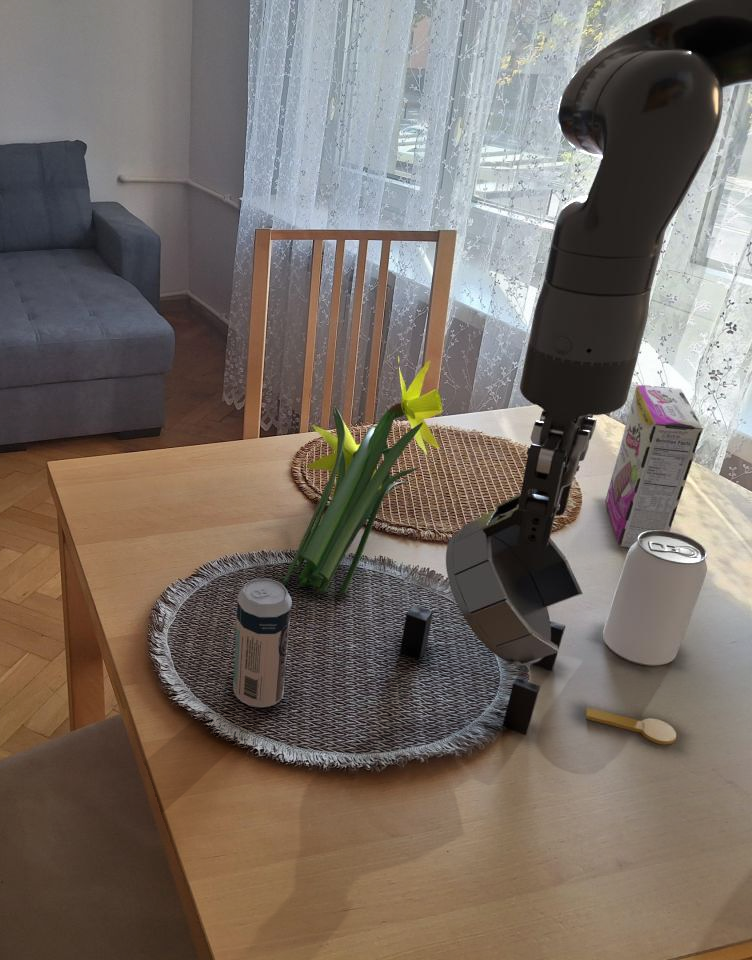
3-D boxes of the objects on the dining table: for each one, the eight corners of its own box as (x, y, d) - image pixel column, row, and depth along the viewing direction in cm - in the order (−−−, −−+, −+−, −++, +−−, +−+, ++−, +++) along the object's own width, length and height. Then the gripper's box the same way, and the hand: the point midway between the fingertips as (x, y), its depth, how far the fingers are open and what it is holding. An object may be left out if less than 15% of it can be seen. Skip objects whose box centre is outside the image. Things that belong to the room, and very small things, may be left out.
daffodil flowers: (218, 572, 101) (323, 396, 121) (322, 646, 100) (409, 456, 120) (287, 504, 87) (391, 319, 107) (407, 589, 86) (489, 386, 107)
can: (681, 674, 82) (720, 571, 76) (605, 660, 84) (637, 558, 78) (668, 633, 87) (704, 533, 81) (597, 620, 89) (627, 523, 83)
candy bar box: (601, 501, 110) (635, 383, 102) (645, 507, 108) (683, 387, 100) (615, 548, 101) (653, 422, 93) (663, 555, 99) (707, 427, 91)
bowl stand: (554, 665, 84) (565, 625, 81) (525, 735, 76) (537, 692, 74) (421, 619, 90) (428, 580, 88) (383, 678, 83) (389, 638, 80)
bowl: (557, 615, 82) (647, 582, 76) (522, 695, 73) (621, 665, 67) (468, 501, 83) (551, 460, 77) (423, 567, 74) (512, 525, 68)
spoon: (587, 701, 79) (586, 704, 79) (587, 721, 77) (586, 725, 77) (675, 723, 76) (673, 726, 76) (678, 745, 74) (676, 748, 74)
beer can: (292, 704, 80) (302, 601, 74) (245, 716, 79) (251, 612, 73) (270, 671, 84) (277, 571, 78) (225, 682, 83) (229, 581, 77)
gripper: (623, 381, 58) (572, 584, 66) (653, 321, 68) (605, 503, 76) (506, 362, 62) (471, 555, 70) (551, 308, 72) (516, 482, 80)
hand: (541, 528), depth 73 cm, fingers closed on bowl, 6 cm apart
